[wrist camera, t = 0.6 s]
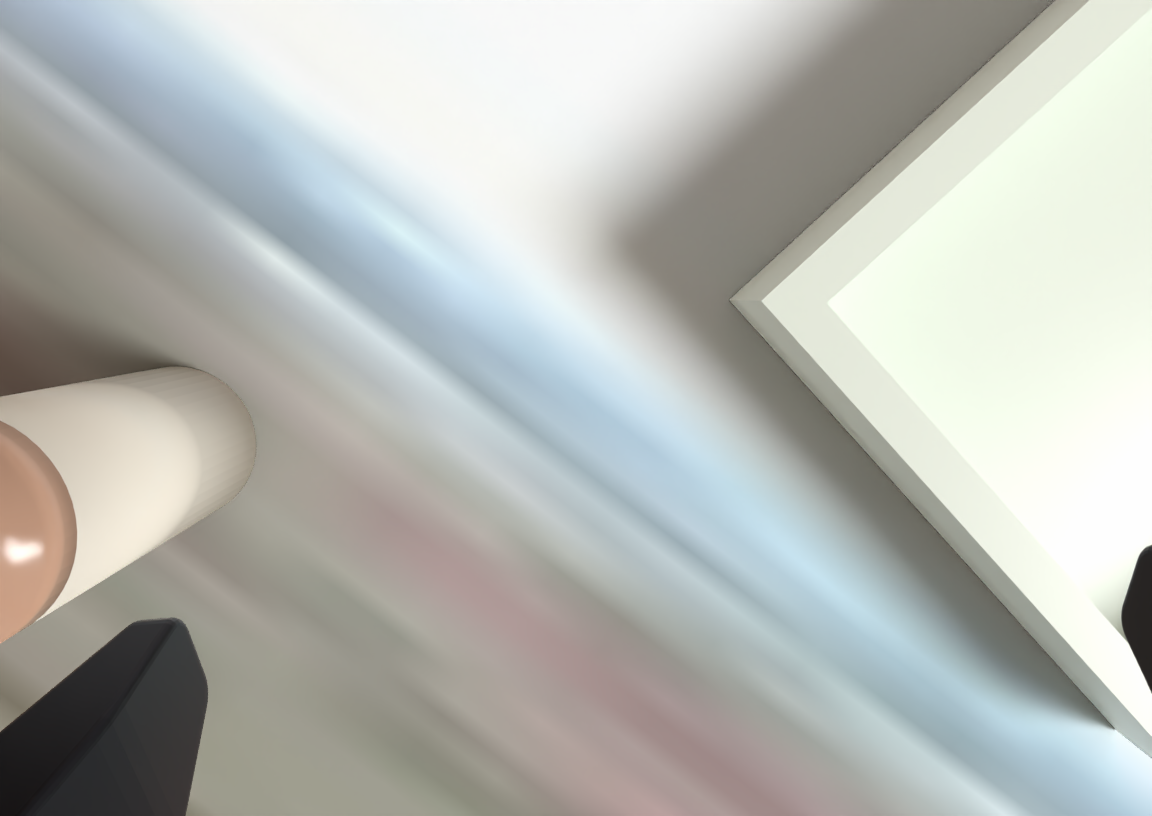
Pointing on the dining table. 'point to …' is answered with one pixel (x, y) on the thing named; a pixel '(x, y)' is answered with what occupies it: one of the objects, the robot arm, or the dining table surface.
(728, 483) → the dining table surface
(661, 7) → the dining table surface
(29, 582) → the jar
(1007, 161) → the bin
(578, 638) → the dining table surface
